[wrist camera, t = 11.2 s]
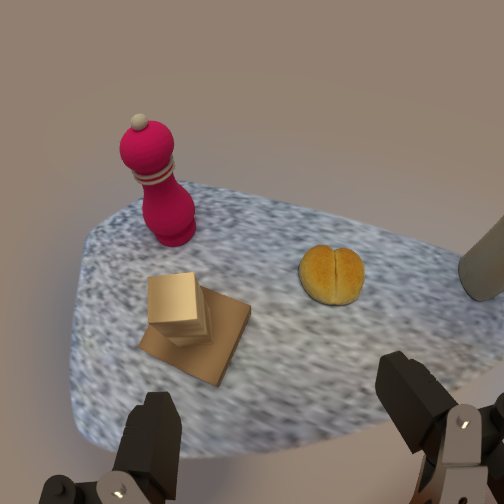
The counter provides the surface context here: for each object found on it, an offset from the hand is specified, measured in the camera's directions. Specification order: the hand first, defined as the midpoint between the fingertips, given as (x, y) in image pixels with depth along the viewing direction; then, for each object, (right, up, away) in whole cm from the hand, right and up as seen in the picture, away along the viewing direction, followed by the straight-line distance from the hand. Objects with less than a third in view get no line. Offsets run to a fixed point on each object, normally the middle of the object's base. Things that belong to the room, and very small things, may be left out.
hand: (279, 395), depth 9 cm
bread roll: (+10, +2, +28) cm, 30 cm away
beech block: (-8, -3, +21) cm, 22 cm away
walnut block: (-8, -5, +24) cm, 25 cm away
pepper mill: (-12, +8, +31) cm, 35 cm away
